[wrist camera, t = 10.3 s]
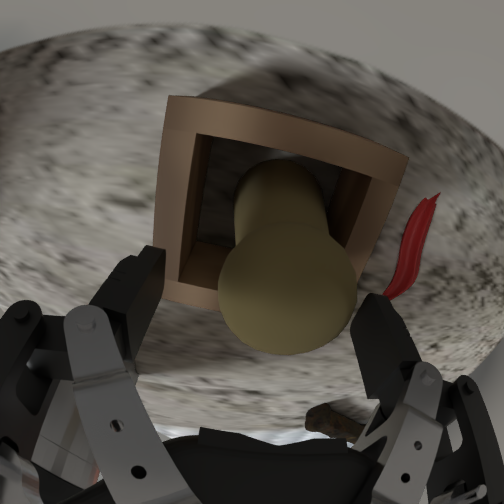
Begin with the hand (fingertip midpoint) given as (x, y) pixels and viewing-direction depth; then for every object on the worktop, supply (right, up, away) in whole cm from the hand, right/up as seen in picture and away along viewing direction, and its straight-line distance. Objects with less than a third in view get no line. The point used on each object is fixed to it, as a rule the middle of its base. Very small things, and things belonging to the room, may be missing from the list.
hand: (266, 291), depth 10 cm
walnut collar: (0, +5, +8) cm, 9 cm away
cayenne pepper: (+12, +2, +10) cm, 16 cm away
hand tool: (+15, -24, +25) cm, 38 cm away
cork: (+1, +5, +8) cm, 9 cm away
